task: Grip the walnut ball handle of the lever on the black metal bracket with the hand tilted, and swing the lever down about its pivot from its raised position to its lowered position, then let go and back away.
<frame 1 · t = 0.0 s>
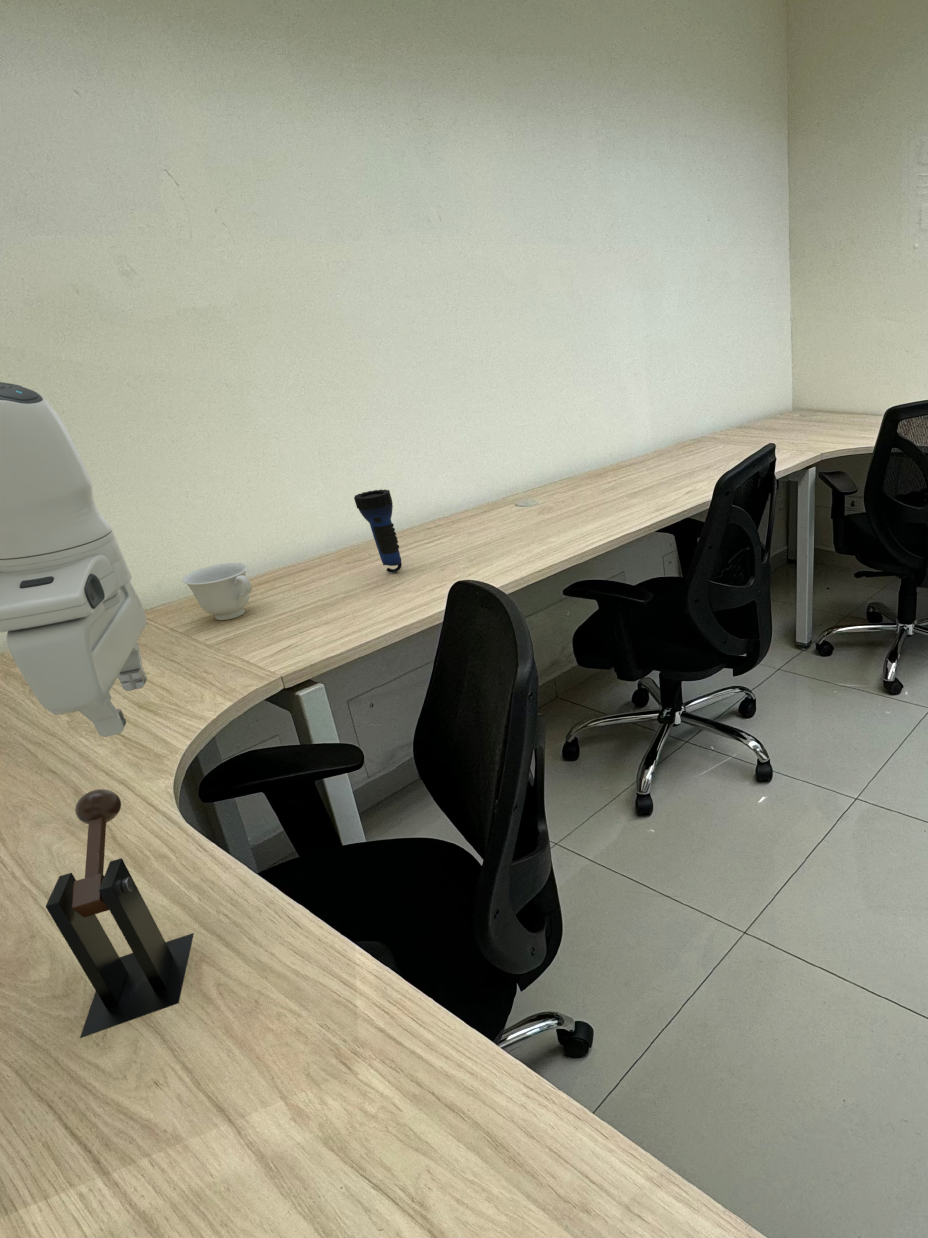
hand: (126, 708, 73), 29 cm above the table, tool pointing down, fingers open, 8 cm apart
flashlight: (393, 573, 188), on the table
teacup: (235, 616, 168), on the table
lever: (95, 847, 76), point 15 cm above the table, hinge at 25.0°
bracket: (145, 989, 78), on the table
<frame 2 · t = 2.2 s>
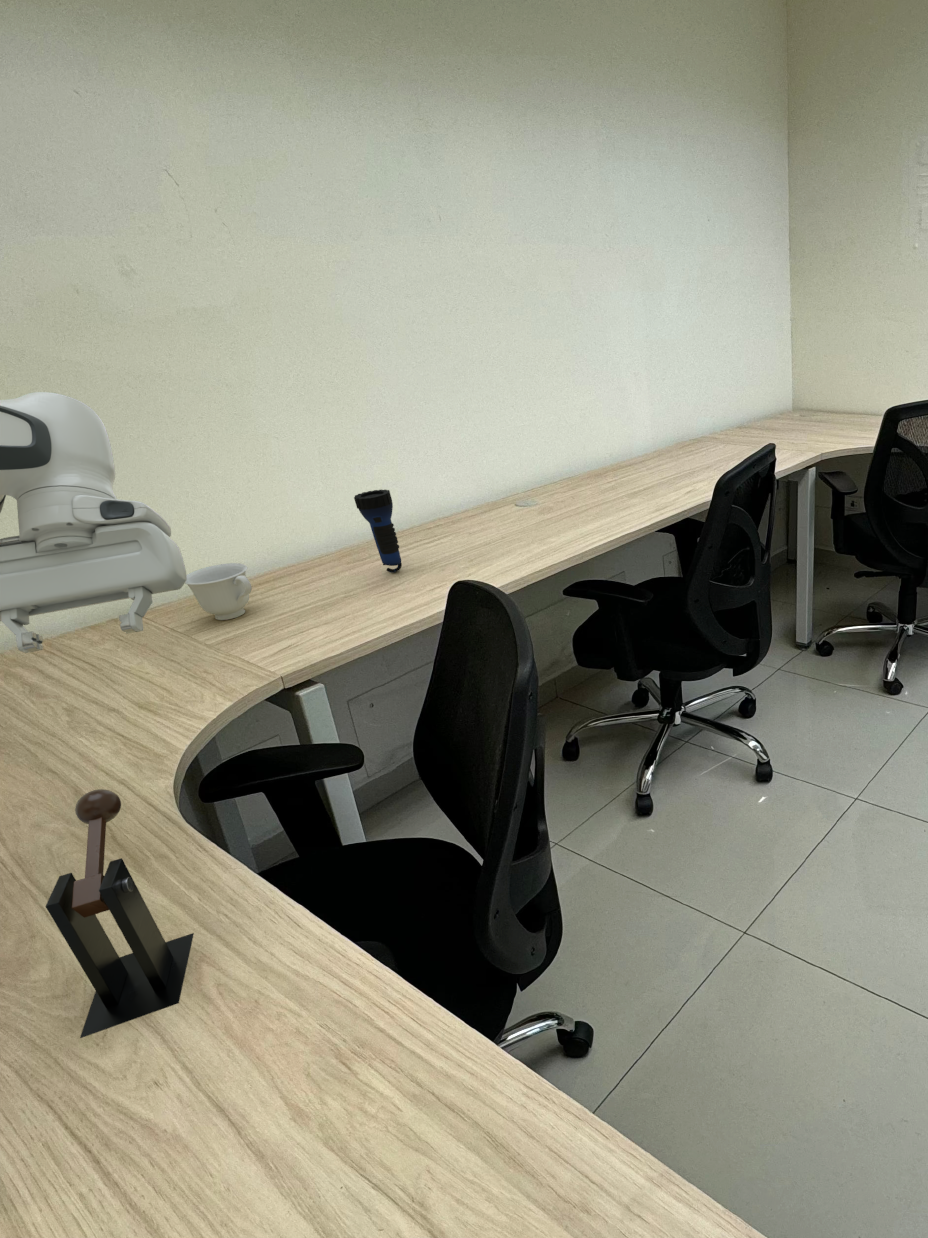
hand: (82, 640, 83), 31 cm above the table, tool tilted 40°, fingers open, 8 cm apart
nothing on the table moved.
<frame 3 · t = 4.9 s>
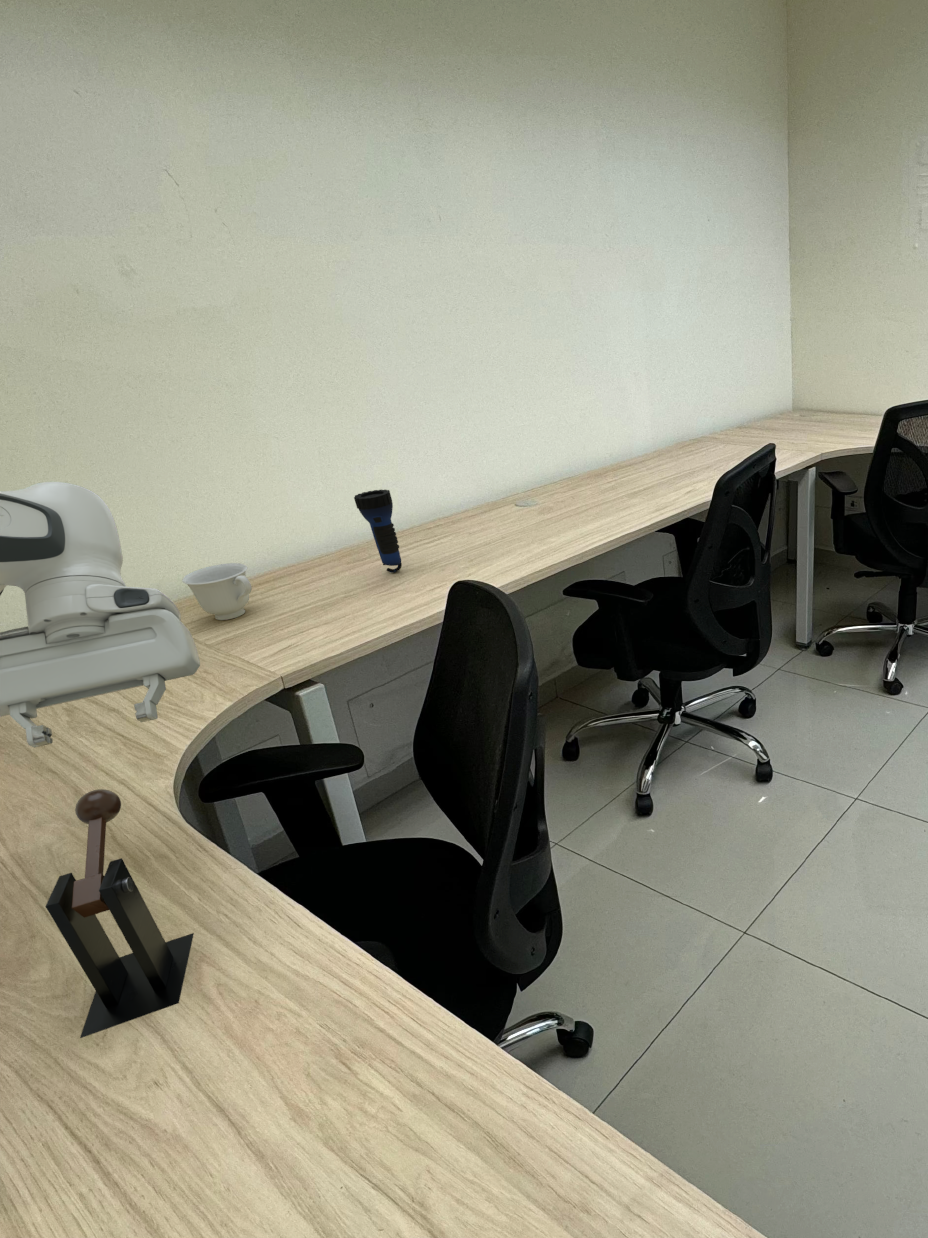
hand: (94, 731, 82), 22 cm above the table, tool tilted 45°, fingers open, 8 cm apart
nothing on the table moved.
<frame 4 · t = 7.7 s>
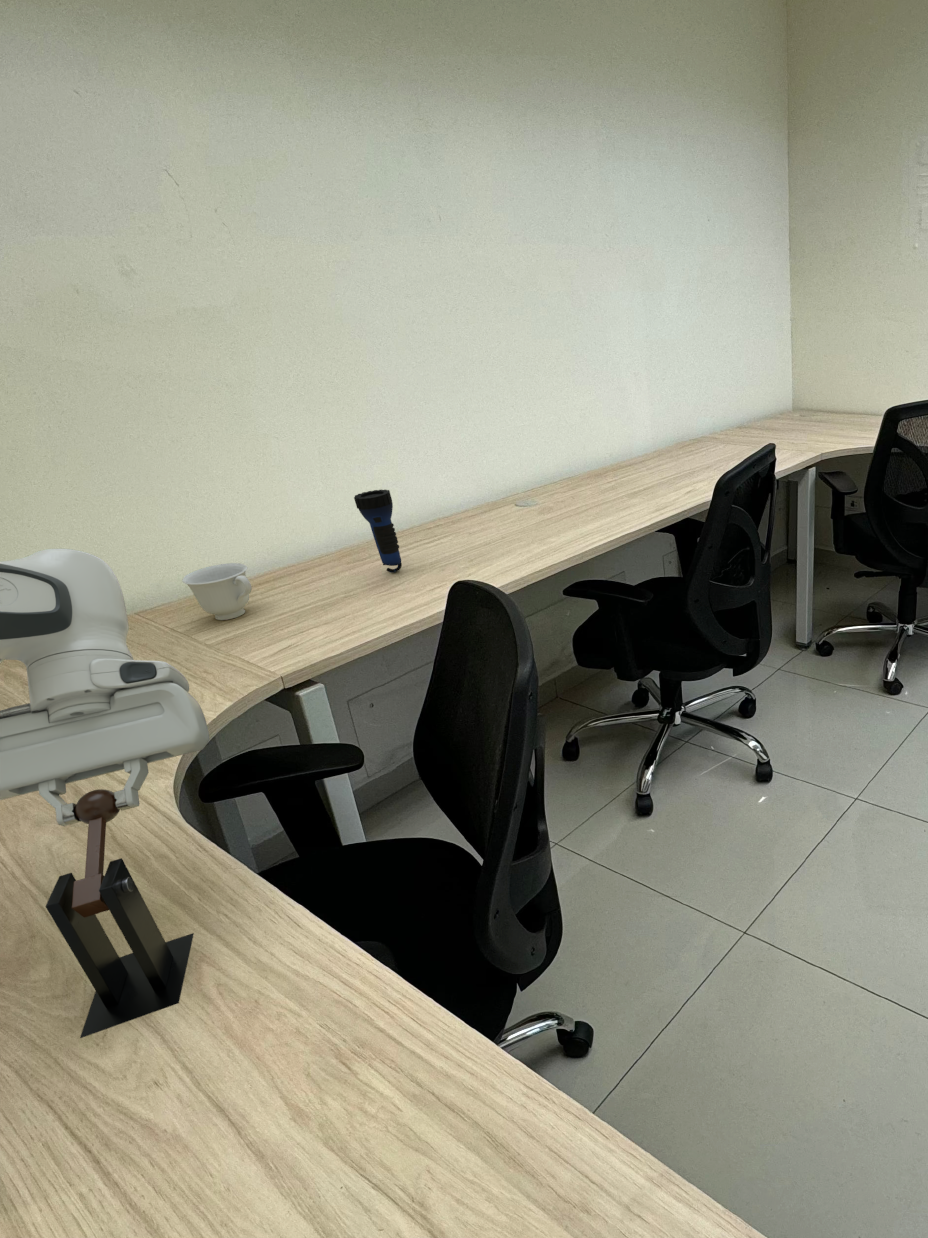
hand: (99, 815, 78), 17 cm above the table, tool tilted 45°, fingers closed on lever, 3 cm apart
lever: (95, 847, 76), point 15 cm above the table, hinge at 25.0°, touching gripper
everything else where it was.
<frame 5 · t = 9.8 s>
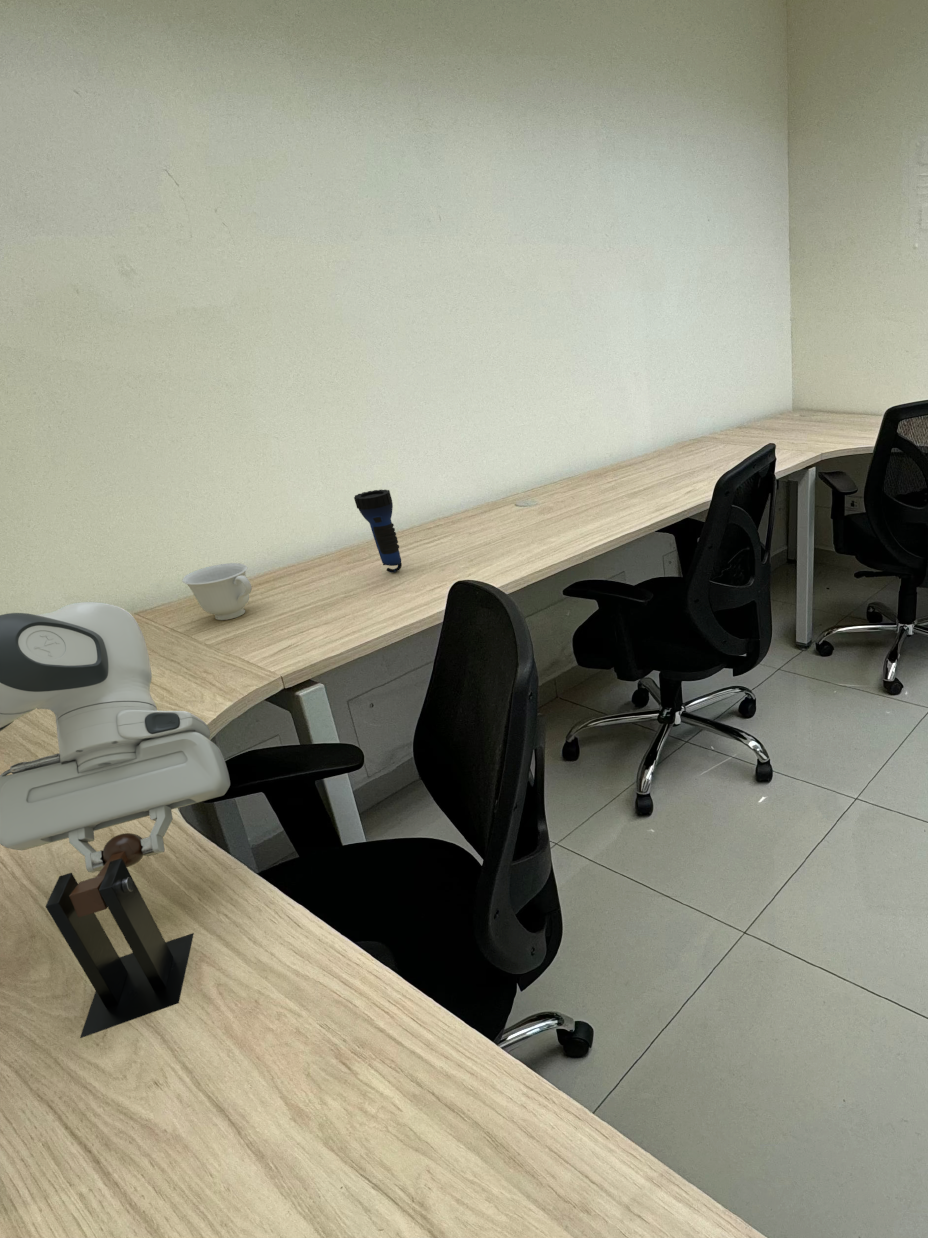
hand: (127, 861, 81), 10 cm above the table, tool tilted 45°, fingers closed on lever, 3 cm apart
lever: (110, 870, 77), point 12 cm above the table, hinge at -12.3°, touching gripper
everything else where it was.
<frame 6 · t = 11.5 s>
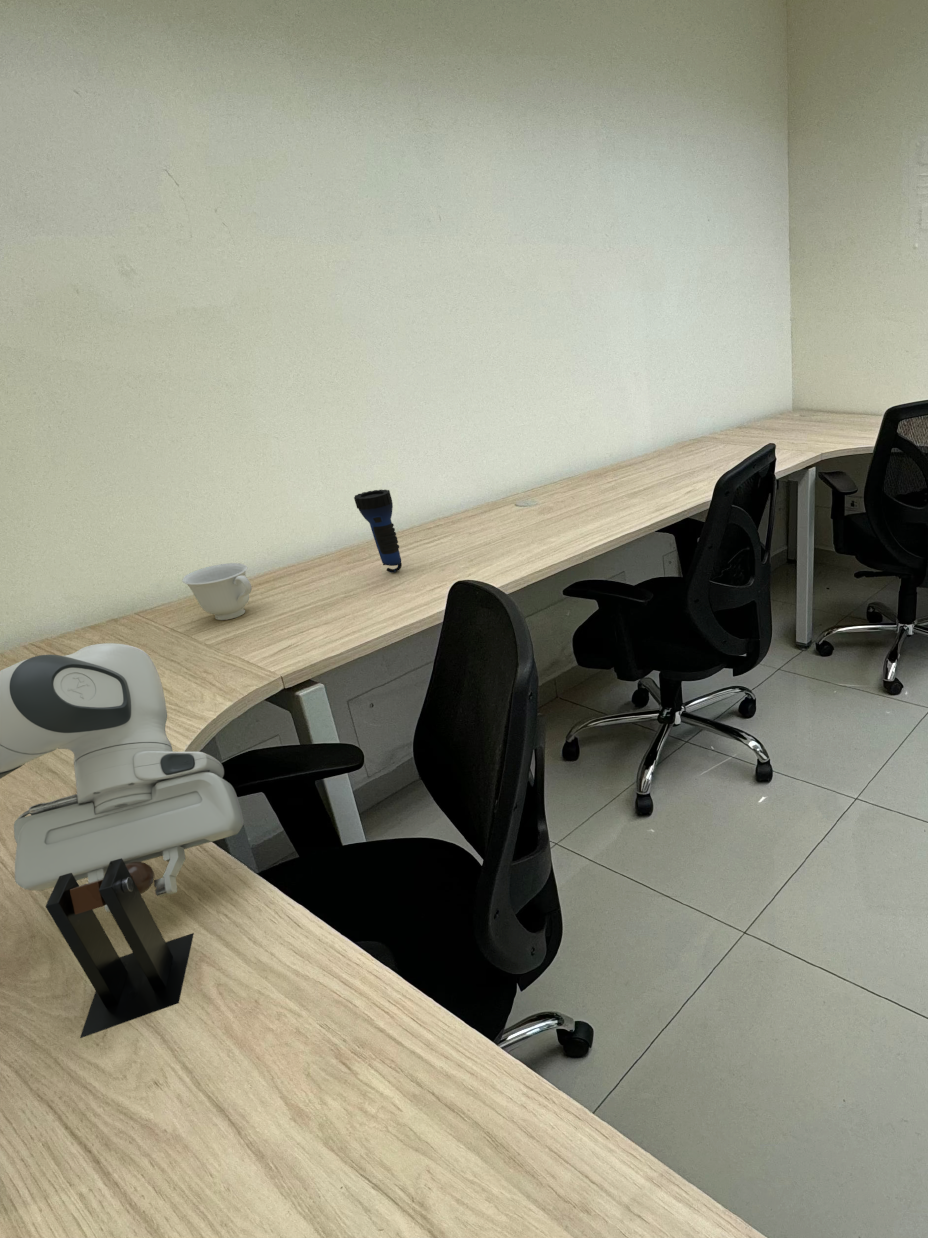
hand: (142, 902, 83), 5 cm above the table, tool tilted 45°, fingers closed on lever, 3 cm apart
lever: (115, 886, 78), point 10 cm above the table, hinge at -31.1°, touching gripper
everything else where it was.
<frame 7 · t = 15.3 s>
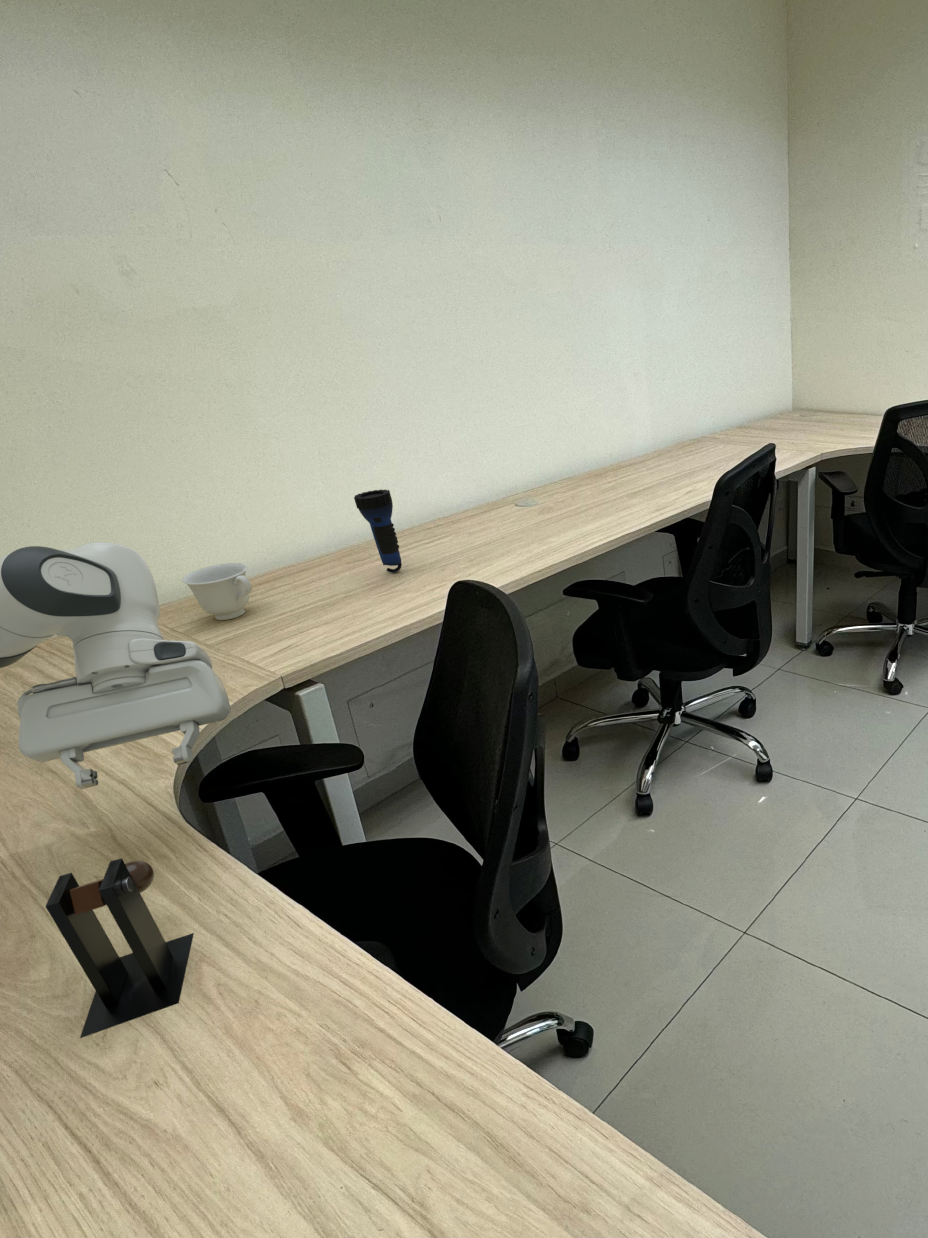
hand: (136, 774, 90), 14 cm above the table, tool tilted 45°, fingers open, 8 cm apart
lever: (114, 885, 78), point 10 cm above the table, hinge at -30.3°
everything else where it was.
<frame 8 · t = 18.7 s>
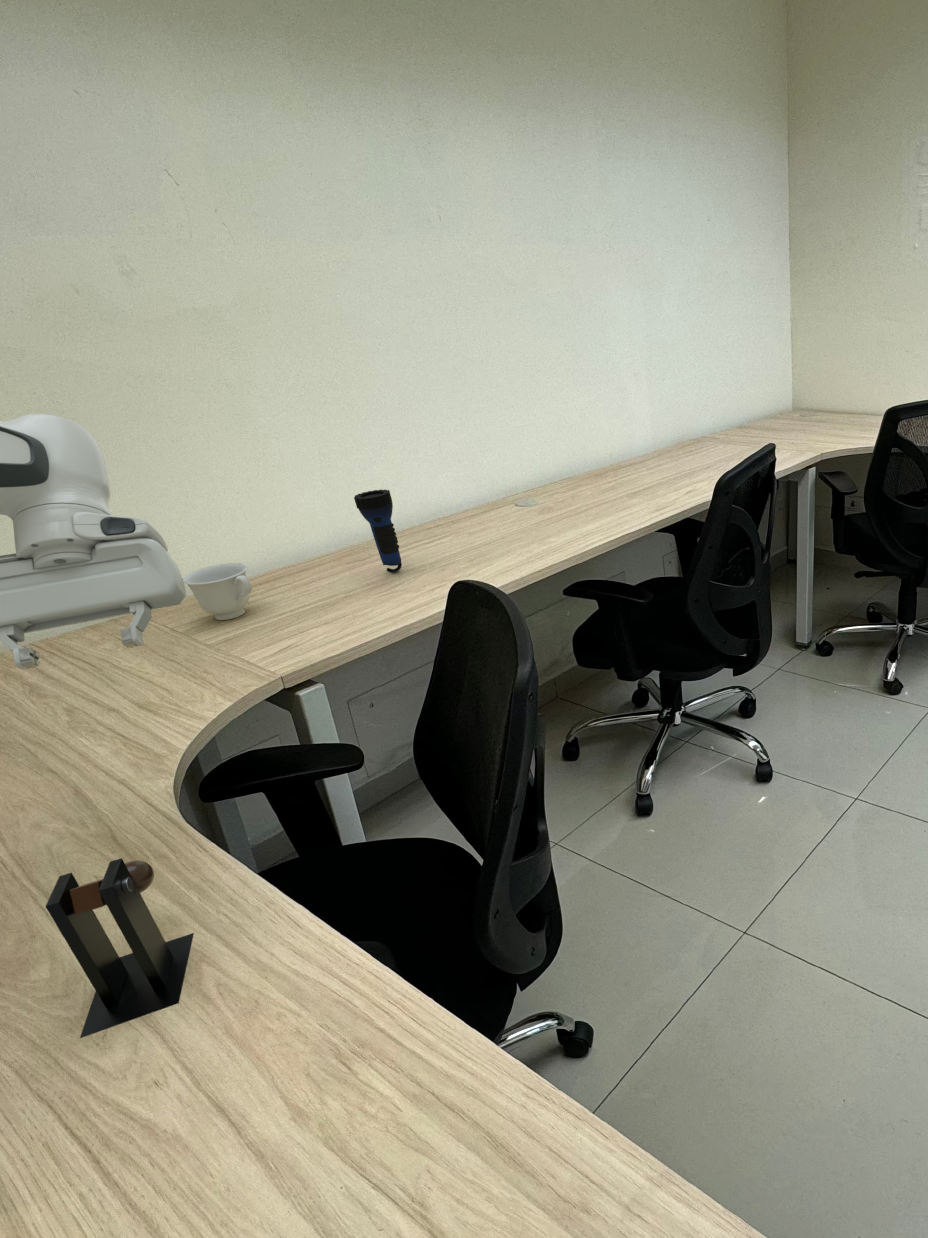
hand: (81, 655, 83), 29 cm above the table, tool tilted 45°, fingers open, 8 cm apart
nothing on the table moved.
at the end: lever at -30° (first picture: +25°); the gripper is holding nothing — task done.
